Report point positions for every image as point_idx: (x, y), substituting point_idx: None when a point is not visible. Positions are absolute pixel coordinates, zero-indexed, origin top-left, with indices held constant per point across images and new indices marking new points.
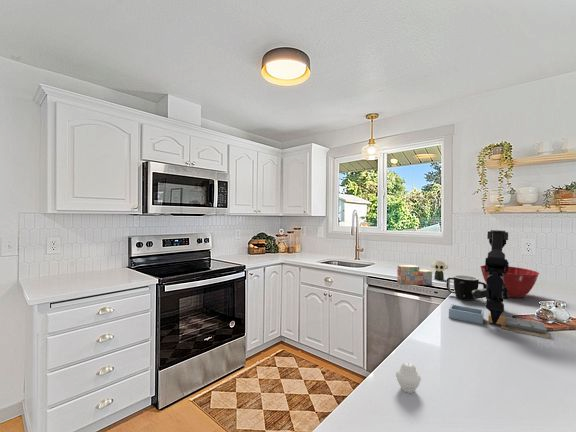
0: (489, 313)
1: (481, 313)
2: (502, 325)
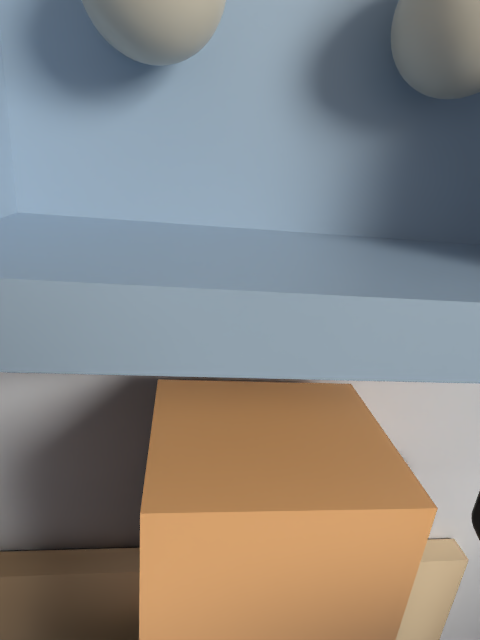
0: (399, 529)
1: (39, 302)
2: (104, 587)
